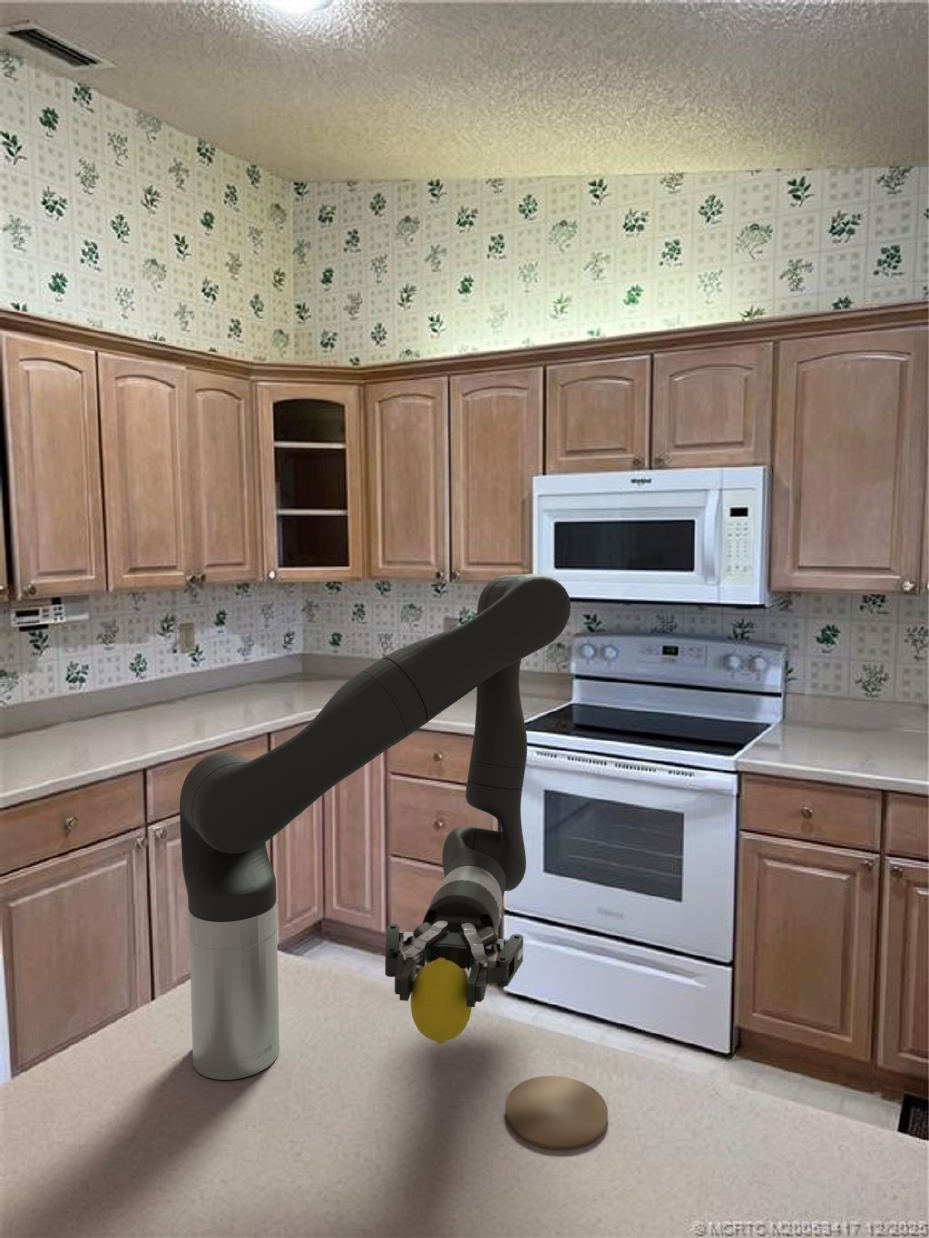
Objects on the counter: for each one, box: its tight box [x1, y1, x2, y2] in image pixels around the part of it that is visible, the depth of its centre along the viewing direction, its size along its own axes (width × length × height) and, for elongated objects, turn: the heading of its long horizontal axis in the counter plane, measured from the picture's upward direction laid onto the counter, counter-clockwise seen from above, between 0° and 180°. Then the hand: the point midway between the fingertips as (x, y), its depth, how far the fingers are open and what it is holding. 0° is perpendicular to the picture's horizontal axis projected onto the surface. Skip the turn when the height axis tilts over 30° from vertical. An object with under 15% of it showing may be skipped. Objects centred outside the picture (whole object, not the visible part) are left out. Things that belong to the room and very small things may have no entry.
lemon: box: [410, 958, 473, 1045], centre depth 79 cm, size 6×6×8 cm
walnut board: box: [505, 1075, 609, 1151], centre depth 86 cm, size 10×10×1 cm
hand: (437, 993), depth 76 cm, fingers closed on lemon, 5 cm apart
